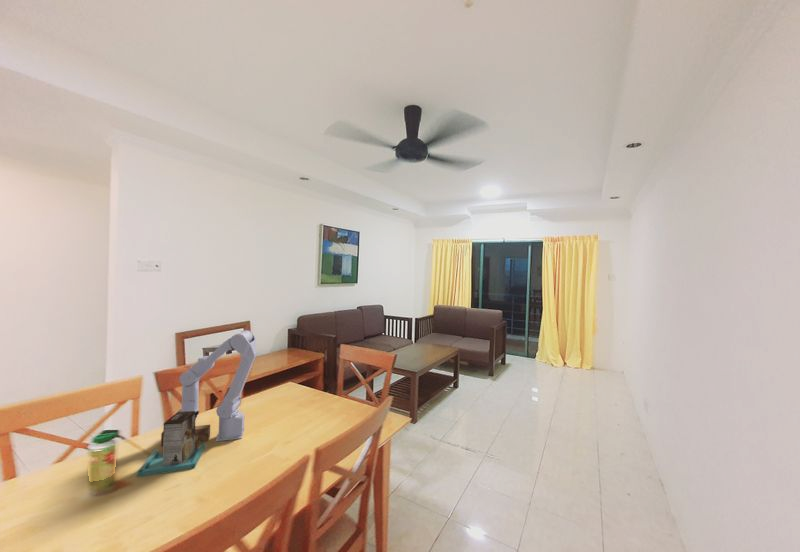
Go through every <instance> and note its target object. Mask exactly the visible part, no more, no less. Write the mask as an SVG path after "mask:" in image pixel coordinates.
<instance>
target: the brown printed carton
mask: <svg viewBox="0 0 800 552" xmlns="http://www.w3.org/2000/svg"><path fill="white" fill-rule="evenodd" d="M160 434H161V435H160V437H161V439H160V442H161V443H160V446H161V447H163V434H164V430H162V432H161V433H160ZM210 438H211V424H204V425H195V449H196V448H197V447H198V445H199V443H200V442H202V441H203V442H205V441H209V439H210Z"/></svg>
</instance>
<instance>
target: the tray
mask: <svg viewBox="0 0 800 552" xmlns="http://www.w3.org/2000/svg"><path fill="white" fill-rule="evenodd" d="M205 449H206V443H202V444H200V447H198V448H197V447H196V449H195V453H194V454H193V455H192V456H191V457H190V458H189V459H188V461H187V462H186V463H183V464H176V465H170V466H163V452H160V449H154V450H153V451H152V453H151V455H150V456H149V457H148V458H147V459H146V461H145V462H144V464H142V466H141V467H140V468H139V470H138V471H137V477H145V476H151V475H158V474H164V473H171V472H177V471H183V470H190V469H191V470H192V469H196V467H197V464H198V462H199V461H200V459H201V456H202V454H203V452H204V451H205Z"/></svg>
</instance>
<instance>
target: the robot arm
mask: <svg viewBox="0 0 800 552" xmlns="http://www.w3.org/2000/svg"><path fill="white" fill-rule="evenodd" d="M256 340H257V338H256V337H255V334H254V333H253V332H252V331H251V330H247V329H245V330H241V331H240V332H239V333H236V334H234V335H232V336H231V337H230V338H227V340H225V341H224V342H222V343H221V345H219V346H218V347H217V348H216V349H215V350H213V352H212V353H210V354H209V355H204V356H201V357H199V358H198V359H197V362H195V363H194V364H193V365H191V366H189V367H188V370H187V371H183V372H182V373H181V374H180V376H179V380H178V381H179V383H180V384H181V409H178V410H177V412H185V411H196V412H195V421H196V419H197V417H198V415H199V414H200V411H199V409H200V407H199V394H200V392H199V391H200V387H199V385H200V380H201V379H202V377H203V376H205V374H206V373H208V372H209V371H210V370H211V369H212V368H214V366H215V363H216V362H215V361H217V360H218V359H219V358H220V357H221V356H223V355H224V354H225V353H227V352H228V351H232V350H234V351H236V352H237V353H238V354H239V355H240V356H241V358H240V362H239V364H238V366H237V369H236V372H235V374H234V376H233V378H232V382H231V384H230V386H229V389H228V391H227V393H226V394H225V396H224V398H223V399H222V401H221V403H220V404H219V405H218V406H217V408H216V415H217V417H218V434H217V437H216V439H215V442H224V441H231V440H238V439H240V440H241V439H242V438H243V435H244V432H245V412H239V407H240V406H241V404H242V396H243V393H242V391H243V389H244V387H245V384H246V382H247V379H248V377H249V374H250V373H251V371H252V368H253V364H254V362H255V360H256V357H257V354H258V352H257V344H256Z"/></svg>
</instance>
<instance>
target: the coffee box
mask: <svg viewBox="0 0 800 552" xmlns="http://www.w3.org/2000/svg"><path fill="white" fill-rule="evenodd" d="M195 412H196V411H185V412H178V411H177V412H176V413H175V414H174V415H172V416H171V417H170V418H169V419H166V420H165V422H163V431H164V434H163V446H162V447H163V448H162V453H163V466H170V465H176V464H183V463H186V462H187V461H188V459H189V458H190V457H191V456H192V455H193V454H194V453H195V426H196V420H195Z"/></svg>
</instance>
